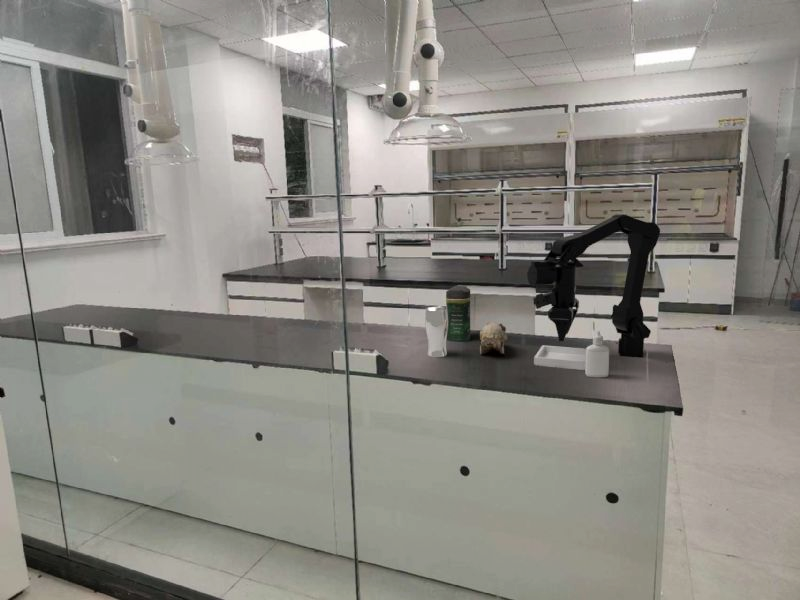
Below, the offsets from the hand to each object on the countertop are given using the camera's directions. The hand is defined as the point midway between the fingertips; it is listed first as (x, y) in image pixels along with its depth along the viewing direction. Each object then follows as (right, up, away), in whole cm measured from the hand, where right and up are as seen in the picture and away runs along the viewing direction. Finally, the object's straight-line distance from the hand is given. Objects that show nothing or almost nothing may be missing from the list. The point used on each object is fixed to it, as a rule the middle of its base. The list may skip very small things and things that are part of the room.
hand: (563, 337), depth 155 cm
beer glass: (-36, -7, +10) cm, 37 cm away
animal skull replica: (-18, -6, +12) cm, 22 cm away
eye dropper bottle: (+5, -9, -13) cm, 16 cm away
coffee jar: (-27, -3, +28) cm, 39 cm away
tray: (0, -7, +1) cm, 7 cm away
